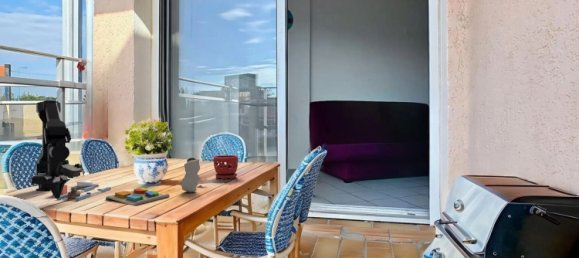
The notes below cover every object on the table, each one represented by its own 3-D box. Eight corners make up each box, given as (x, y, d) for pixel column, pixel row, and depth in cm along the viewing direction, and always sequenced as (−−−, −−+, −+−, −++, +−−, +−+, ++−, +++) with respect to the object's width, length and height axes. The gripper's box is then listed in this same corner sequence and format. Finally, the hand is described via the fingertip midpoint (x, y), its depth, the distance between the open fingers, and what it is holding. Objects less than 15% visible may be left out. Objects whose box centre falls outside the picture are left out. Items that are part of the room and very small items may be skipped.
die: (52, 196, 156) (52, 186, 155) (57, 194, 159) (57, 184, 159) (62, 196, 156) (62, 186, 156) (67, 194, 160) (67, 184, 160)
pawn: (65, 199, 151) (65, 189, 151) (73, 196, 155) (73, 187, 155) (74, 200, 150) (74, 190, 150) (82, 197, 154) (82, 187, 154)
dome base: (71, 189, 169) (70, 187, 169) (83, 185, 177) (82, 183, 177) (87, 190, 168) (87, 188, 168) (98, 186, 176) (98, 184, 176)
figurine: (204, 190, 170) (204, 157, 169) (190, 195, 161) (190, 160, 160) (189, 188, 173) (189, 156, 173) (174, 193, 164) (174, 159, 164)
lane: (57, 199, 150) (56, 195, 150) (91, 188, 170) (91, 185, 170) (78, 200, 148) (78, 196, 148) (110, 189, 169) (110, 186, 169)
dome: (73, 187, 170) (73, 182, 170) (83, 184, 176) (83, 180, 176) (86, 188, 169) (86, 183, 169) (96, 185, 175) (95, 180, 175)
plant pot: (241, 176, 208) (241, 154, 207) (232, 180, 195) (232, 157, 194) (219, 175, 211) (219, 153, 210) (209, 179, 198) (209, 156, 197)
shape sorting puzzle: (135, 207, 142) (135, 198, 142) (104, 200, 151) (104, 192, 151) (171, 198, 157) (171, 190, 157) (140, 192, 166) (140, 185, 166)
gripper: (57, 161, 133) (58, 205, 133) (92, 155, 151) (92, 194, 152) (29, 160, 134) (30, 204, 135) (66, 154, 152) (67, 192, 153)
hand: (57, 198), depth 144 cm, fingers closed
